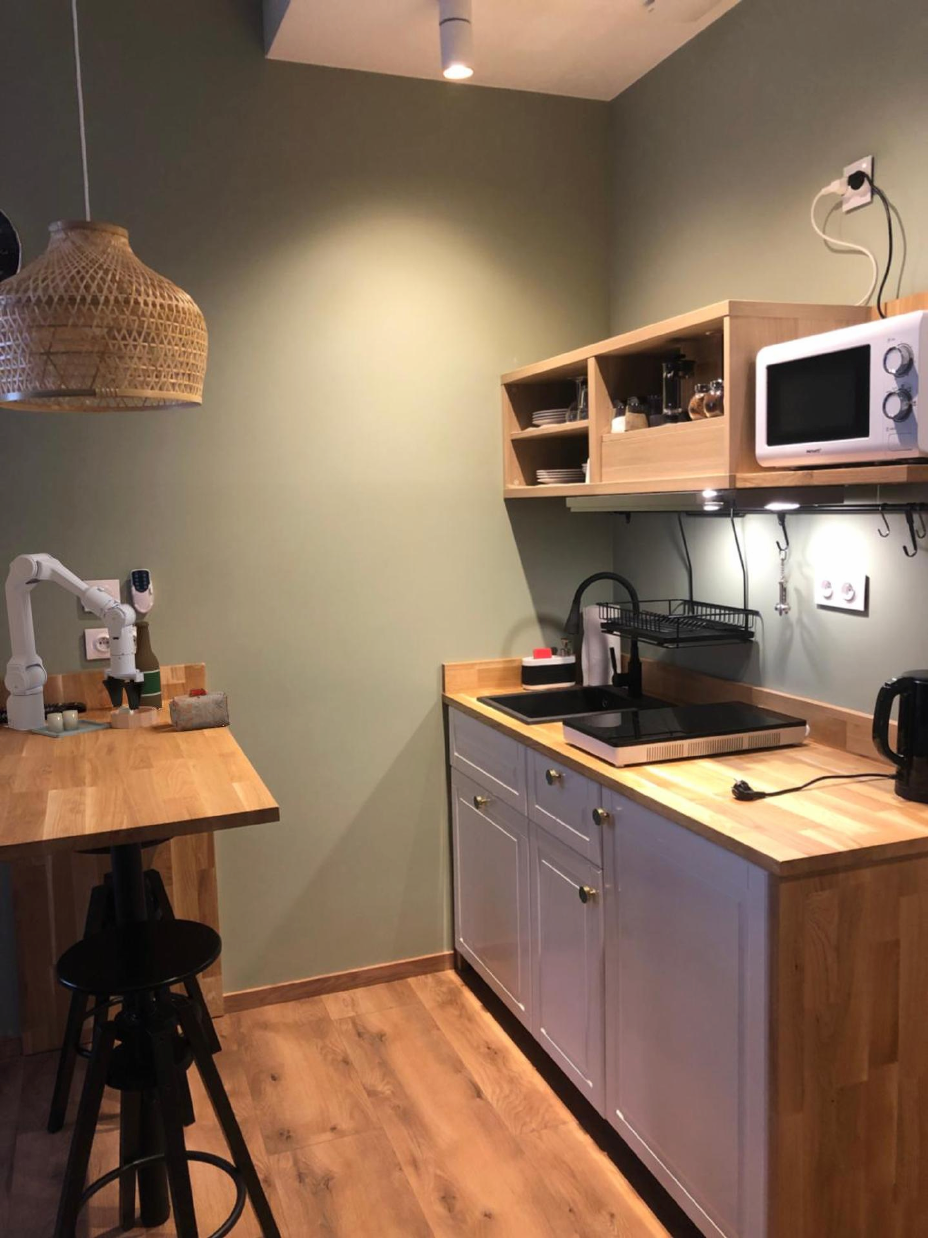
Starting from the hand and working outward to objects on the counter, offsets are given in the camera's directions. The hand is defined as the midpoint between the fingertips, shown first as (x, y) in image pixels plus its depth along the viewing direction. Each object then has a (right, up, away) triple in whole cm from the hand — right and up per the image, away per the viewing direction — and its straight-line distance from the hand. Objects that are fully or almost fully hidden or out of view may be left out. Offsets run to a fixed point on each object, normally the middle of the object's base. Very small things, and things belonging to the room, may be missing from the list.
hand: (125, 708), depth 257 cm
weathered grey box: (+19, -5, -3) cm, 20 cm away
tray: (-13, -6, -2) cm, 14 cm away
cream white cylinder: (0, -4, 0) cm, 4 cm away
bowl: (+2, -5, +2) cm, 5 cm away
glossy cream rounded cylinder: (-13, -5, -2) cm, 14 cm away
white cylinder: (-15, -5, -5) cm, 17 cm away
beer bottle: (-2, -3, +23) cm, 23 cm away
